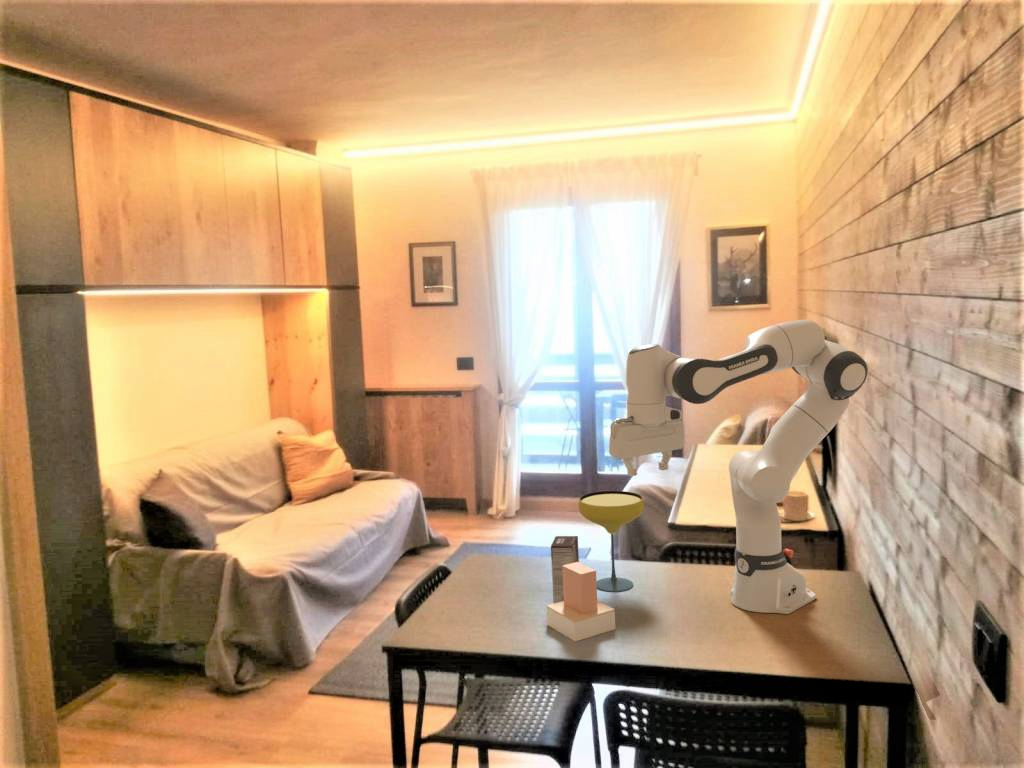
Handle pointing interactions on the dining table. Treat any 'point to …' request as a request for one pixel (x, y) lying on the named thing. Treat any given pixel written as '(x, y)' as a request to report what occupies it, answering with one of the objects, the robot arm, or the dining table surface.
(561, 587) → the coffee box
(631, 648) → the dining table surface
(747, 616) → the dining table surface
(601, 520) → the cocktail glass
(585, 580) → the carton
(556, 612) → the podium
